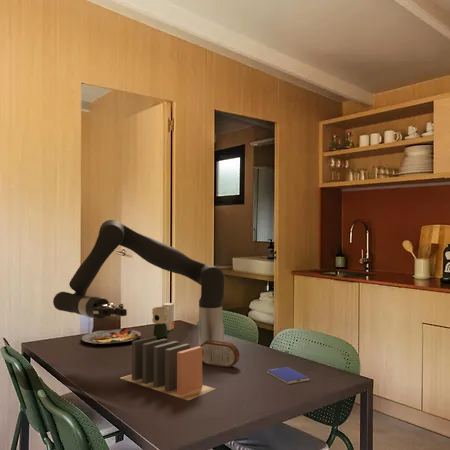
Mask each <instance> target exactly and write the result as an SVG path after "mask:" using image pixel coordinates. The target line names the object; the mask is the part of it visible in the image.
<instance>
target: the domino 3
mask: <svg viewBox="0 0 450 450" xmlns="http://www.w3.org/2000/svg"><path fill="white" fill-rule="evenodd" d="M176 346H179V341H177V340H173V341H170V342H167V343H165V344H162V345H158V346H154V379H153V387H157V388H158V387H160V386H163V385H165V349H168V348H172V347H176Z"/></svg>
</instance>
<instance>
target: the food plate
mask: <svg viewBox="0 0 450 450" xmlns="http://www.w3.org/2000/svg"><path fill="white" fill-rule="evenodd" d="M141 337H142V332H140V331H138V330H133V329H130V328H127V327H123V328H122V329H120V328H119V329H105V330H97V331H93V332H90V333H89V332H88V333H86V334H84V335H82V337H81V339H82V341H83V342H86V343H91V344H92V345H96V344H100V345H103V344H104V345H111V344H119V343H121V344H122V343H127V342H132V341H136V340H139V338H141Z"/></svg>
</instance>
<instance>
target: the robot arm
mask: <svg viewBox="0 0 450 450" xmlns="http://www.w3.org/2000/svg"><path fill="white" fill-rule="evenodd" d="M119 246H120V247H123V248H125V249H128V250H131V251H132V252H134V254H136V255H137V256H139V257H140V258H141V259H143V260H145V261H146V262H147V263H149V264H150V265H153V266H155V267H157V268H159V269H161V270H163V271H167V272H170V273H173V274H177V275H180V276H184V277H186V278H187V279H190V280H192V281H193V282H195V283H196V284H199V285H200V298H199V300H198V346H201V345H202V344H203V343H204V342H205V341H208V340H213V341H220V342H225V325H224V324H223V301H224V298H225V296H224V295H225V276H224V272H223V271H222V270H221V269H220V268H219V267H217V266H214V265H212V264H211V265H210V264H206V263H203V262H200V261H198V260H195V259H193V258H192V257H191V258H190V257H189V256H187V255H186V254H184V253H183V252H181V251H180V250H178V249H176V248H175V247H173V246H170V245H168V244H166V243H163V242H161V241H159V240H156V239H154V238H152V237H150V236H147V235H144V234H142V233H139V232H137V231H135V230H134V229H132V228H130V227H129V226H127V225H125V224H123V223H122V222H120V221H118V220H116V219H108V220H105V221H104V222H102V224H101V226H100V227H99V231H98V236H97V238H96V241H95V244H94V246H93V247H92V249H91V251H90V253H89V254H88V256H87V257H86V258H85V260H84V261H82V263H81V264H80V265H79V267H78V268H77V269H76V271H75V273H74V274H73V276H72V277H71V279H70V281H69V284H68V285H69V288H70V289H71V290H73V291H74V293H71V292H67V291H59V292H57V293H56V294H55V295H54V297H53V298H52V299H53V300H52V304H53V307H54V308H55V309H56V310H58V311H61V312H67V313H73V314H76V315H80V316H84V317H87V318H92V319H96V320H102V319H104V318H106V317H112V316H113V317H116V316H118V317H127V315H128V313H127V309H126V308H124V304H123V303H120V304H118V305H117V304H114V303H111V302H110V301H109V300H108V299H107V298H105V297H100V296H93V295H86V294H87V292H88V289H89V288H90V286H91V284H92V283H93V282H94V279H95V278H96V277H97V275H98V273H99V271H100V270H101V268H102V266H103V265H104V263H105V262H106V261H107V259H108V258H109V257H110V256H111V254H112V253H113V252H114V251H115V250H116V249H117V248H118V247H119Z"/></svg>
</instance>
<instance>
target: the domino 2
mask: <svg viewBox="0 0 450 450" xmlns="http://www.w3.org/2000/svg"><path fill="white" fill-rule="evenodd" d="M165 343H168V338H159V339H157V340H156V341H152V342H148V343H144V344H143V363H142V383H144V384H148V383H151V382H153V379H154V346H158V345H162V344H165Z"/></svg>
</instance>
